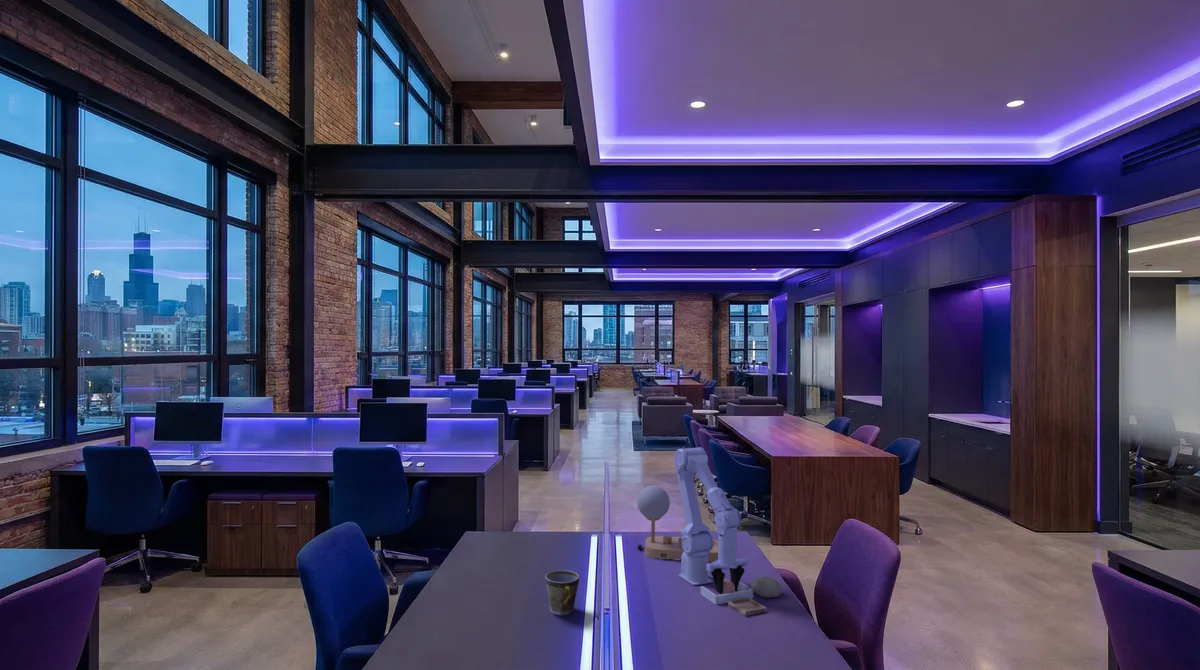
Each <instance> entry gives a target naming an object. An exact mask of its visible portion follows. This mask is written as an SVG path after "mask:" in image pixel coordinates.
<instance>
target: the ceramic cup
mask: <svg viewBox="0 0 1200 670" xmlns="http://www.w3.org/2000/svg"><path fill="white" fill-rule="evenodd" d="M544 577H545V585H546V586H545V587H546V591H547V597H548V606H549V610H550V611H551V613H552V614H553V615H555V616H556V615H557V616H568V615H570V614H571V613H573V611H574V607H575V602H576V598H577V593H578V589H579V582H580V575H579V573H577V572H576V571H572V570H567V569H565V570H564V569H559V570H553V571H549V572H548V573H546V574H545V576H544Z"/></svg>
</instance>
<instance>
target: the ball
mask: <svg viewBox="0 0 1200 670" xmlns="http://www.w3.org/2000/svg"><path fill="white" fill-rule="evenodd" d="M733 592H736V591H735V586H734V584H733V582H732V581H731V579H725V578H724V581H723V593H722V594H727V593H733ZM722 594H721V595H722Z"/></svg>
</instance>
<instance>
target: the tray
mask: <svg viewBox="0 0 1200 670" xmlns="http://www.w3.org/2000/svg"><path fill="white" fill-rule="evenodd" d="M727 607H730V608H732V609H733V610H735V611H736V612H737V613H739V614H741V615H742V616H744V617H748V616H752V615H757V614H762V613H763V614H764V613H767V607H766V606H765V605H763V604H761V603H760V602H757V601H756V600H754V598H744V599H738V600H733V601H728V603H727Z"/></svg>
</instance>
